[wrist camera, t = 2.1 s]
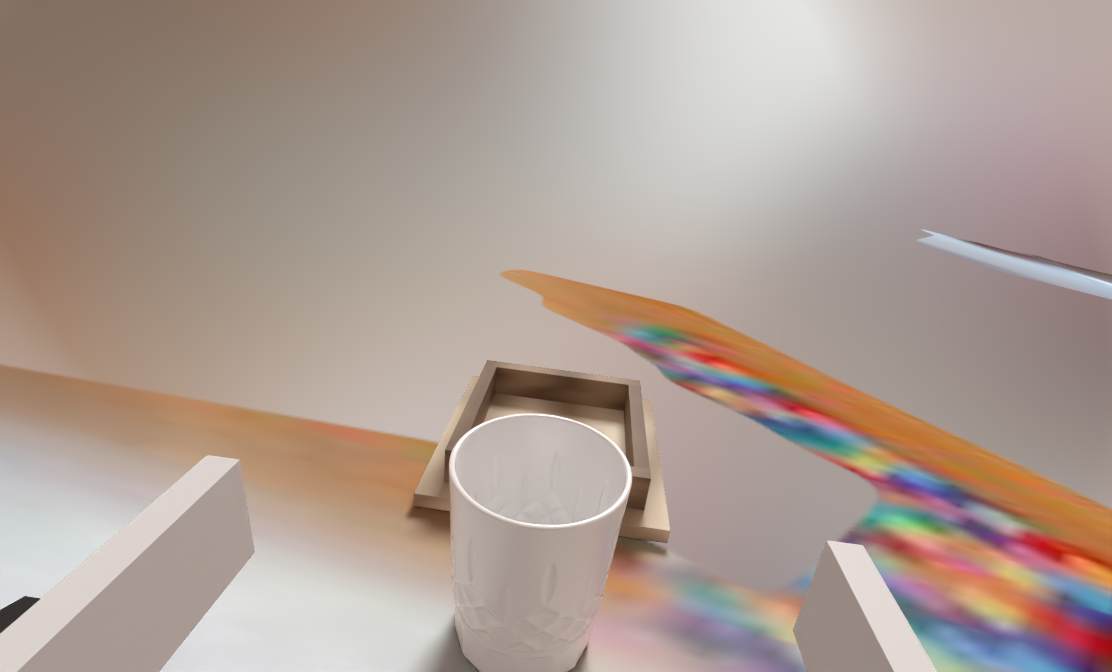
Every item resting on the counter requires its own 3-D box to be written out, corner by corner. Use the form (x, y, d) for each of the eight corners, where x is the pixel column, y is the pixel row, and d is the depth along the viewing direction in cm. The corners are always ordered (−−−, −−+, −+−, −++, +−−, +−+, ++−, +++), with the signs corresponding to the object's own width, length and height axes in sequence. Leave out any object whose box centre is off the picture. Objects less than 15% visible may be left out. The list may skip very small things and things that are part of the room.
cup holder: (413, 506, 34) (413, 460, 33) (472, 385, 49) (473, 350, 47) (667, 543, 33) (678, 498, 32) (649, 409, 48) (656, 374, 47)
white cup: (443, 713, 23) (449, 534, 19) (444, 566, 30) (448, 413, 26) (619, 692, 25) (658, 522, 21) (581, 557, 32) (605, 412, 28)
